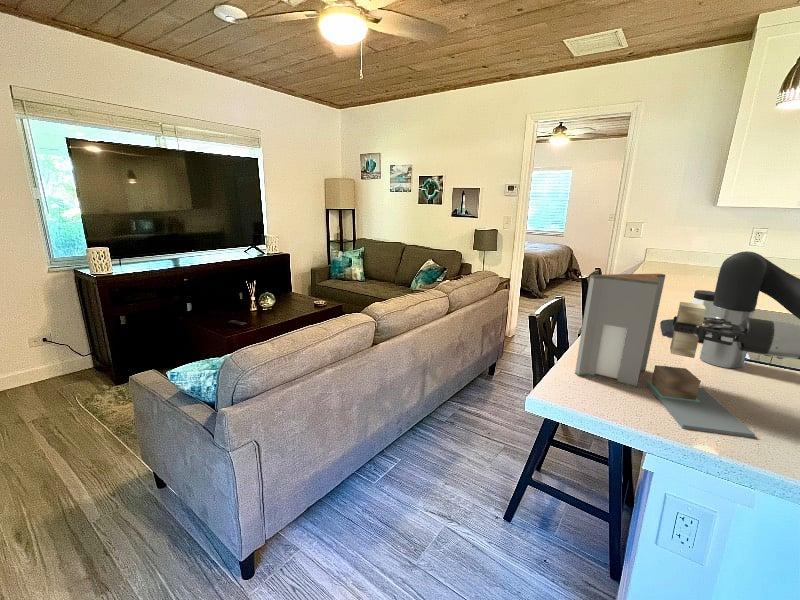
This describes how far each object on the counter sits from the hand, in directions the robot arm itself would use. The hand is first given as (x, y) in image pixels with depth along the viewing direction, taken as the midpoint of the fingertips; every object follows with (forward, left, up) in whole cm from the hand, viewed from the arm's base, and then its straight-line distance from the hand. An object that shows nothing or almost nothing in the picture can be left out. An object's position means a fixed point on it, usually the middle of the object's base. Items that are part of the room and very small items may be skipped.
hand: (674, 323), depth 90 cm
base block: (-3, +1, -17) cm, 18 cm away
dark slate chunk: (-28, -53, -19) cm, 63 cm away
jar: (-42, -70, -18) cm, 84 cm away
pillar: (-3, +1, -7) cm, 8 cm away
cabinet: (+7, -4, -18) cm, 20 cm away
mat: (-5, +7, -18) cm, 20 cm away
